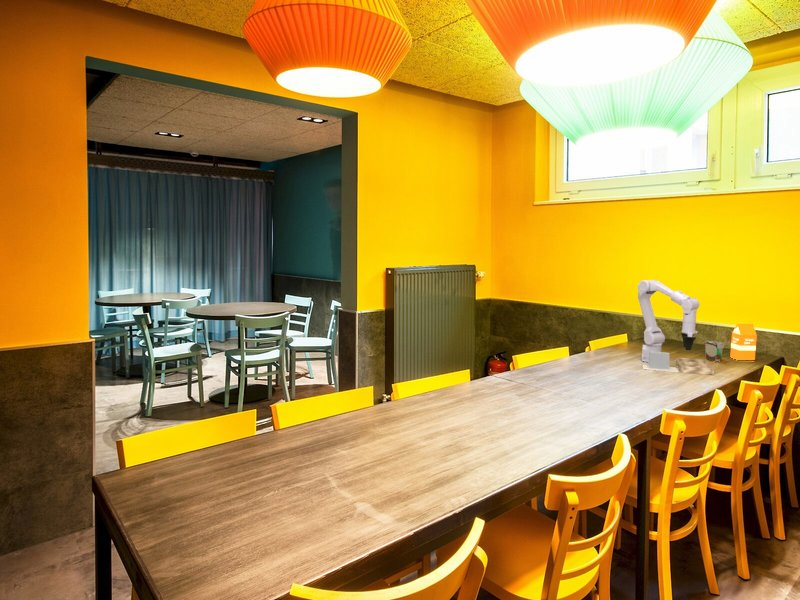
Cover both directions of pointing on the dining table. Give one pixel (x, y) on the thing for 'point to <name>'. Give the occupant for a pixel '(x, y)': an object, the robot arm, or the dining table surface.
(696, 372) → the wooden tray
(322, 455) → the dining table surface
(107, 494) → the dining table surface
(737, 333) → the orange juice
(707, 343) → the food container
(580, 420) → the dining table surface
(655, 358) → the tall block
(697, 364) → the offcut block top
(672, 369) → the beige panel
